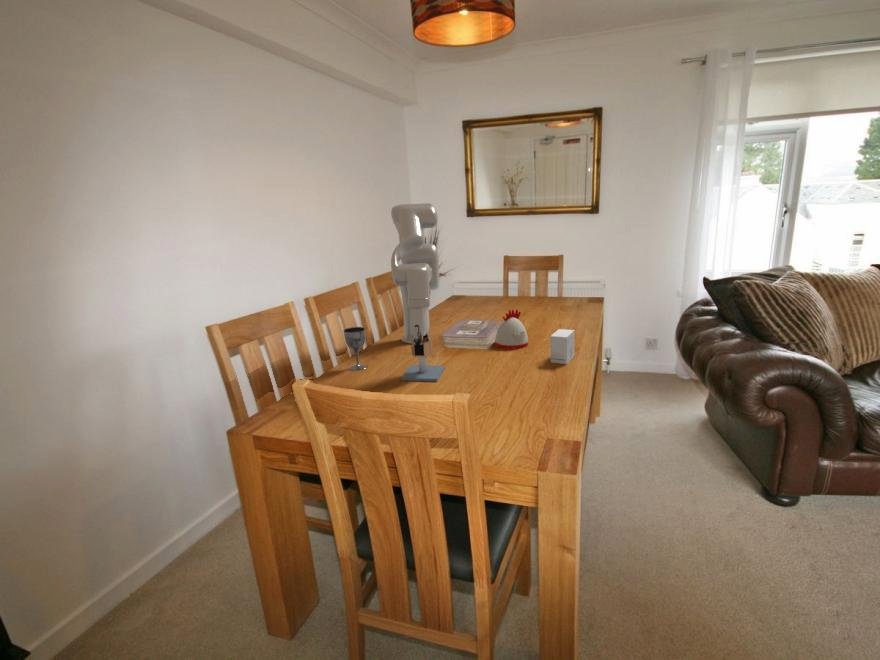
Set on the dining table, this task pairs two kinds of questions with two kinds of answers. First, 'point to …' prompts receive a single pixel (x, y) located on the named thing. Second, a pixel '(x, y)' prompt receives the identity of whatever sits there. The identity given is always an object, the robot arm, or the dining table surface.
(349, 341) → the wine glass
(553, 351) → the skincare box
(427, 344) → the ring
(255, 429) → the dining table surface
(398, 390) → the dining table surface
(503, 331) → the kitchen timer
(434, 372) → the piston stand
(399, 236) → the robot arm
